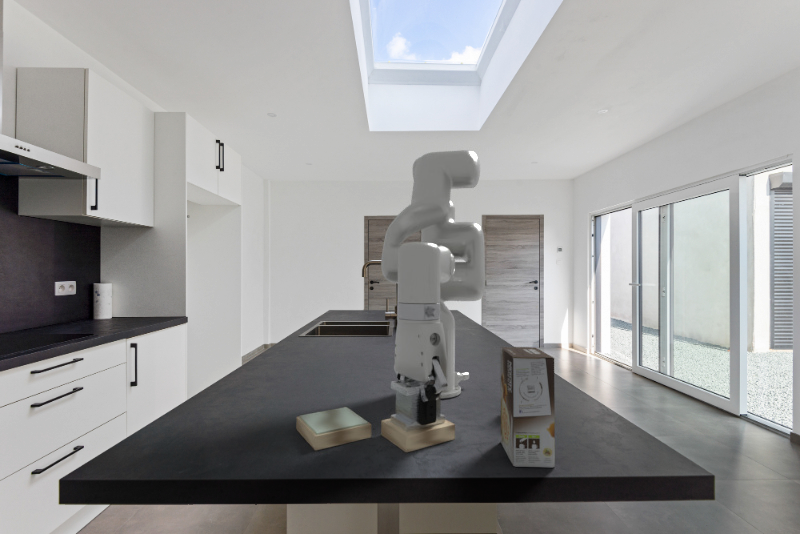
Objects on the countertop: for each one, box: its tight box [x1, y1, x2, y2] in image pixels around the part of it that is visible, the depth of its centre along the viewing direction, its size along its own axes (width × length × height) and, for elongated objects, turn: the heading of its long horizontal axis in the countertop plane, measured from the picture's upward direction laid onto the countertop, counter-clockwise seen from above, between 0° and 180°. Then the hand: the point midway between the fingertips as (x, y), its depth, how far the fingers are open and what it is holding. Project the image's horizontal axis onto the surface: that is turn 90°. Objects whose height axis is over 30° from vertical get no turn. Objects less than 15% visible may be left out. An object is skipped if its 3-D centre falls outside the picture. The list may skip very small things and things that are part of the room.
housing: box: [390, 377, 446, 432], centre depth 67 cm, size 8×5×7 cm, turn 122°
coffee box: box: [499, 346, 556, 469], centre depth 61 cm, size 9×6×16 cm
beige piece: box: [380, 417, 456, 453], centre depth 66 cm, size 10×8×2 cm
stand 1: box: [295, 406, 372, 451], centre depth 68 cm, size 10×10×2 cm
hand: (417, 416), depth 66 cm, fingers closed on housing, 5 cm apart
